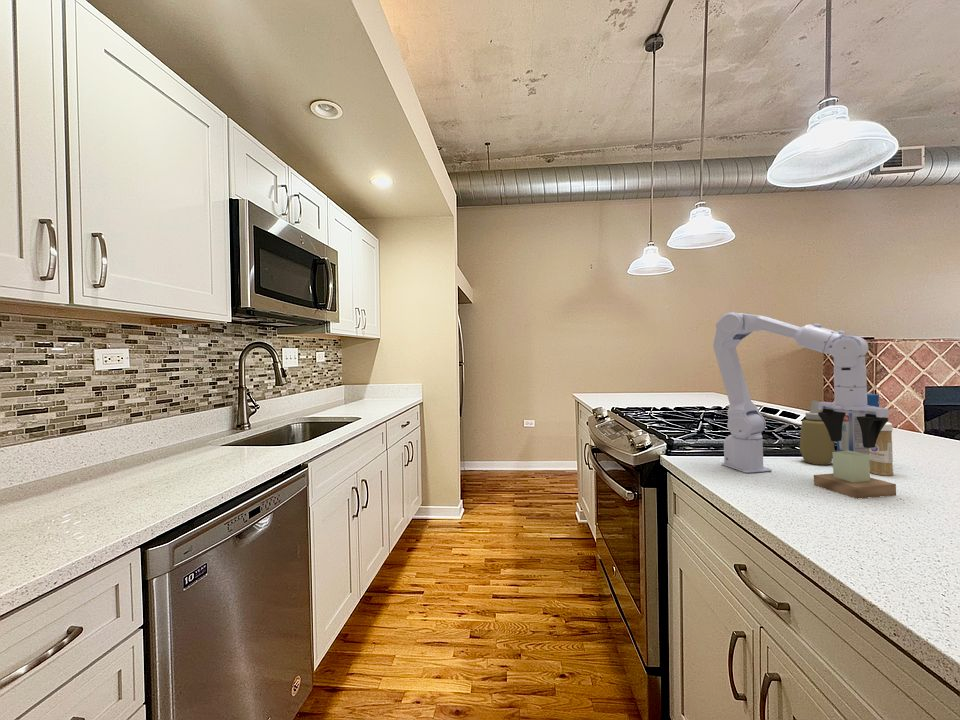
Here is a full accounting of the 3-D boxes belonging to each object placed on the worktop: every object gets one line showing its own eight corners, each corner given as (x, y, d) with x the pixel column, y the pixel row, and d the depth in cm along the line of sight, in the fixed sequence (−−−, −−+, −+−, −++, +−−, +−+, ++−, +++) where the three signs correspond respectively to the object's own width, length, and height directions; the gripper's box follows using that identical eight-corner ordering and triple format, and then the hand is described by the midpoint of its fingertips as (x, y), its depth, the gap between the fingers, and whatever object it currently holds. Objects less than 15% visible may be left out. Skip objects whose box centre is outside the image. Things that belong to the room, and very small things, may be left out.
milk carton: (881, 468, 111) (878, 394, 111) (852, 466, 113) (849, 394, 113) (863, 459, 120) (861, 391, 120) (837, 458, 122) (834, 391, 122)
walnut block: (814, 487, 99) (813, 475, 99) (849, 484, 100) (849, 472, 100) (857, 501, 89) (856, 487, 89) (896, 497, 90) (895, 484, 90)
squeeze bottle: (793, 459, 123) (791, 399, 123) (822, 459, 122) (820, 399, 122) (811, 466, 115) (809, 402, 115) (843, 466, 114) (840, 402, 114)
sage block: (833, 476, 97) (832, 451, 97) (849, 475, 98) (848, 450, 98) (853, 482, 93) (852, 456, 93) (870, 480, 93) (869, 454, 93)
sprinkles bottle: (865, 472, 107) (864, 421, 107) (874, 470, 109) (873, 420, 109) (888, 477, 103) (886, 424, 103) (897, 474, 105) (895, 422, 105)
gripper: (806, 385, 103) (808, 439, 103) (867, 389, 88) (869, 451, 88) (831, 384, 103) (833, 437, 103) (896, 387, 89) (898, 449, 89)
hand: (852, 444), depth 96 cm, fingers open, 7 cm apart
